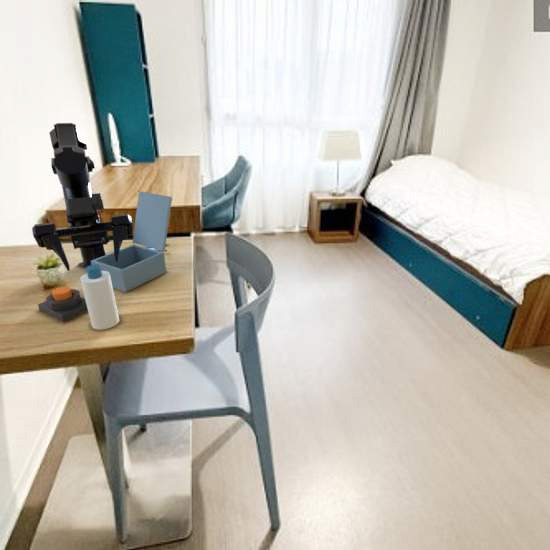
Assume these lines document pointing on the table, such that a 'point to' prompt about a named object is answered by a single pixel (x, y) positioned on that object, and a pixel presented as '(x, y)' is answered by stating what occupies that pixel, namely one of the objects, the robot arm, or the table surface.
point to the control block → (64, 306)
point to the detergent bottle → (99, 297)
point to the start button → (62, 293)
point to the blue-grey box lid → (152, 220)
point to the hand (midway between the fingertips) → (93, 266)
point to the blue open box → (132, 266)
